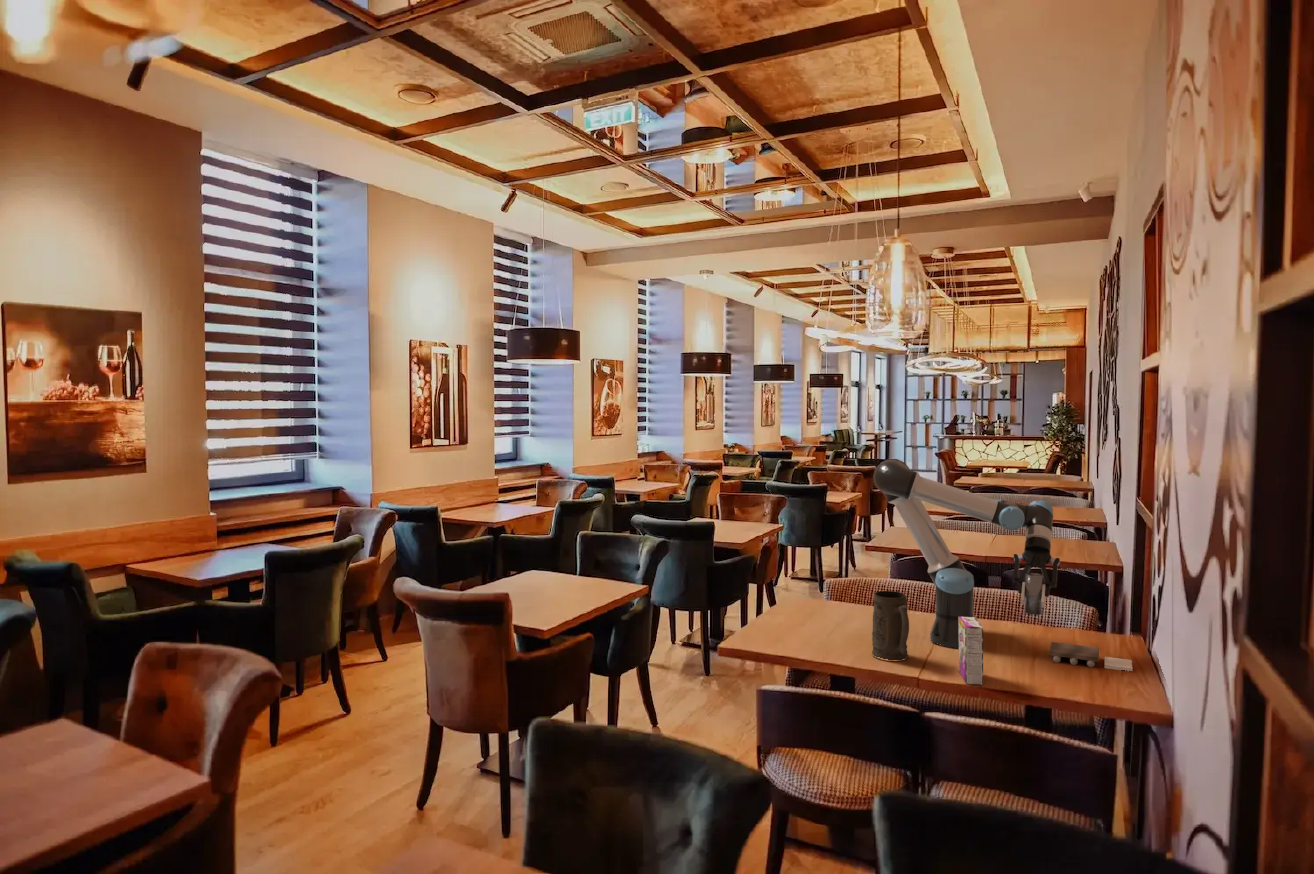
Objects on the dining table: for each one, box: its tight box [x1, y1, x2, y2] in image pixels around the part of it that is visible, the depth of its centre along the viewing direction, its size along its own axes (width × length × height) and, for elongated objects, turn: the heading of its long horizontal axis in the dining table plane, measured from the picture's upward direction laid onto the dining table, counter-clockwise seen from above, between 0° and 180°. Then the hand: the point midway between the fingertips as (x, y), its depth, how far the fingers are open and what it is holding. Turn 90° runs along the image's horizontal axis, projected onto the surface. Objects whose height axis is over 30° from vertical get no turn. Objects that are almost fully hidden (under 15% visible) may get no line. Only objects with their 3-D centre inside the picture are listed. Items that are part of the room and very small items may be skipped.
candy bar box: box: [958, 616, 984, 686], centre depth 220 cm, size 11×5×16 cm, turn 168°
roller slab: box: [1048, 641, 1100, 668], centre depth 236 cm, size 13×11×3 cm
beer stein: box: [871, 590, 910, 660], centre depth 238 cm, size 15×11×20 cm
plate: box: [1104, 656, 1133, 672], centre depth 230 cm, size 7×9×1 cm
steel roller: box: [1024, 572, 1044, 616], centre depth 241 cm, size 5×5×12 cm
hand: (1032, 603), depth 238 cm, fingers closed on steel roller, 5 cm apart
